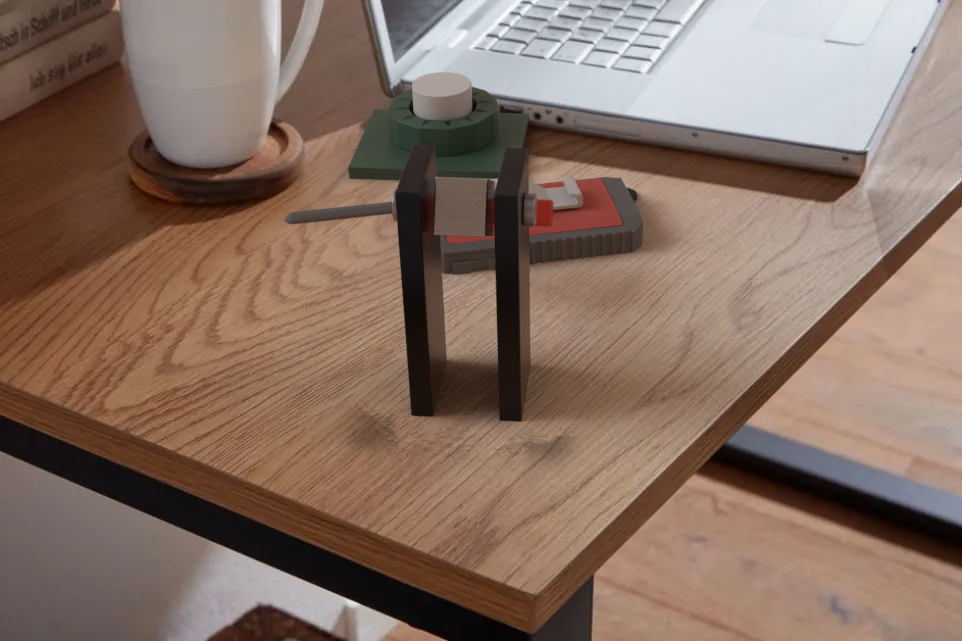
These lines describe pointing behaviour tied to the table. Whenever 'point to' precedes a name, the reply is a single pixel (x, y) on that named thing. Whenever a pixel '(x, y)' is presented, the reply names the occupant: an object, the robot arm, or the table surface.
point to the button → (442, 96)
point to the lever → (473, 207)
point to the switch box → (438, 140)
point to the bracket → (426, 285)
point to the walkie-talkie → (574, 234)
